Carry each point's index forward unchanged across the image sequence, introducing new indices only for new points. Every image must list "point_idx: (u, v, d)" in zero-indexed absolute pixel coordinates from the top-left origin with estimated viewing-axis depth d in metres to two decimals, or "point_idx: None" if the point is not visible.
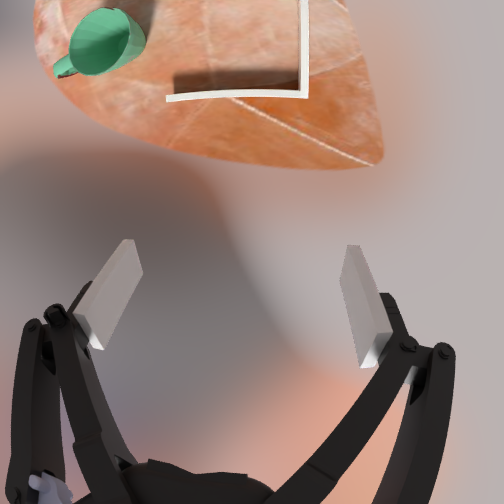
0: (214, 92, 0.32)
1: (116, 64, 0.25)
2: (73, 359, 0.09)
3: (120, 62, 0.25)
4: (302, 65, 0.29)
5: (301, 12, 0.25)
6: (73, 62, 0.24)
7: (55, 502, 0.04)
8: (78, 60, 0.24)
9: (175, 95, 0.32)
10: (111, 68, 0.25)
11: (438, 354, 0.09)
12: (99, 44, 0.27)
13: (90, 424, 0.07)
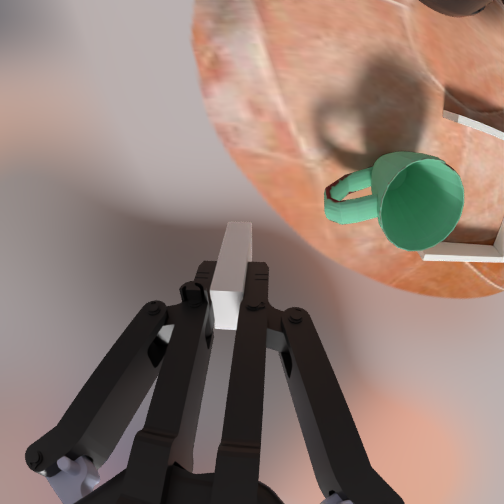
0: (459, 257, 0.32)
1: (432, 244, 0.25)
2: (190, 348, 0.10)
3: (432, 238, 0.25)
4: None
5: None
6: None
7: (73, 486, 0.05)
8: None
9: (432, 255, 0.32)
10: (425, 246, 0.25)
11: (289, 321, 0.11)
12: None
13: (169, 422, 0.07)
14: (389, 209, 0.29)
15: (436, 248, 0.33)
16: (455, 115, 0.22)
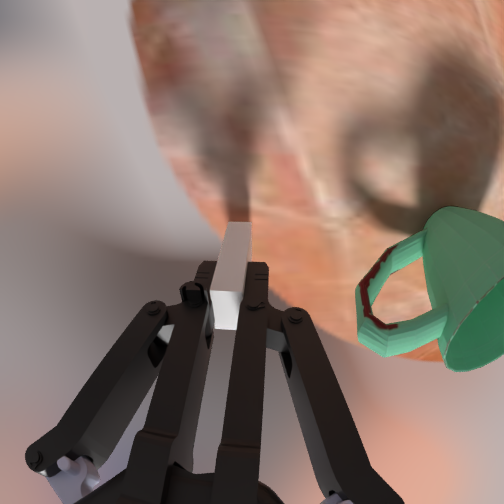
0: None
1: (496, 354, 0.13)
2: (190, 348, 0.10)
3: (496, 344, 0.13)
4: None
5: None
6: None
7: (73, 486, 0.05)
8: None
9: None
10: (487, 358, 0.13)
11: (289, 321, 0.11)
12: None
13: (169, 422, 0.07)
14: None
15: None
16: None
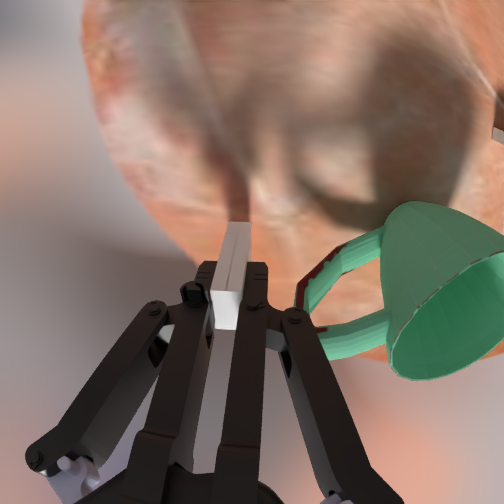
0: None
1: (465, 361, 0.13)
2: (191, 348, 0.10)
3: (465, 351, 0.13)
4: None
5: None
6: None
7: (73, 486, 0.05)
8: None
9: None
10: (454, 365, 0.13)
11: (288, 321, 0.11)
12: None
13: (169, 422, 0.07)
14: None
15: None
16: None
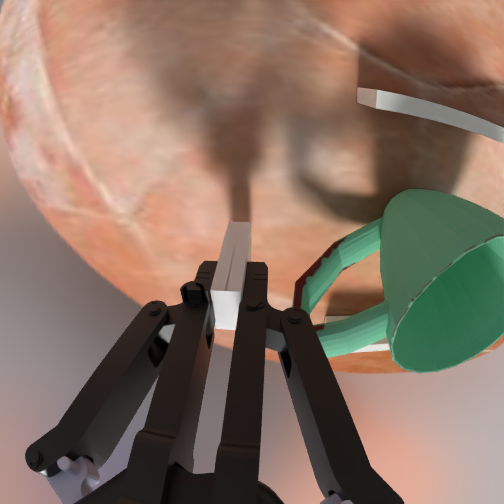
0: None
1: (474, 350, 0.12)
2: (191, 348, 0.10)
3: (474, 339, 0.13)
4: None
5: None
6: None
7: (73, 486, 0.05)
8: None
9: None
10: (463, 355, 0.13)
11: (288, 322, 0.11)
12: None
13: (169, 422, 0.07)
14: None
15: None
16: (372, 93, 0.11)
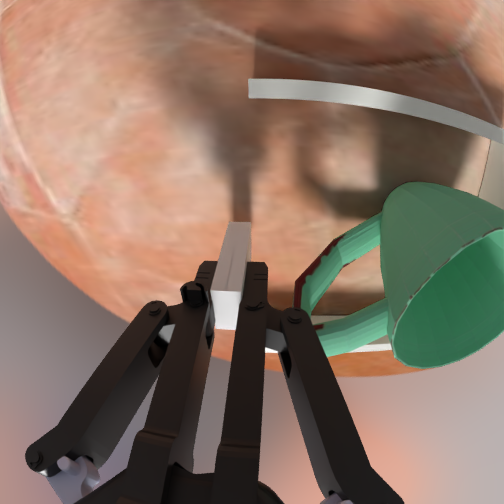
0: None
1: (478, 344, 0.12)
2: (191, 348, 0.10)
3: (478, 333, 0.13)
4: None
5: None
6: None
7: (73, 486, 0.05)
8: None
9: None
10: (467, 349, 0.13)
11: (288, 321, 0.11)
12: None
13: (169, 422, 0.07)
14: None
15: None
16: None
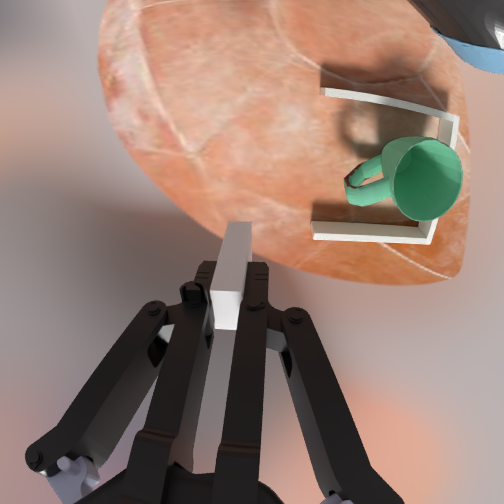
0: (361, 236, 0.37)
1: (441, 213, 0.27)
2: (190, 348, 0.10)
3: (440, 208, 0.28)
4: None
5: None
6: (394, 198, 0.27)
7: (73, 486, 0.05)
8: (391, 191, 0.28)
9: (323, 234, 0.37)
10: (436, 216, 0.28)
11: (289, 321, 0.11)
12: None
13: (169, 422, 0.07)
14: (400, 188, 0.32)
15: (333, 228, 0.38)
16: (324, 89, 0.27)
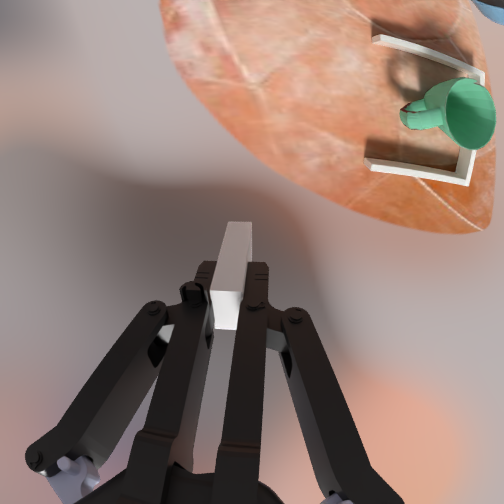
0: (412, 171, 0.35)
1: (482, 145, 0.25)
2: (190, 348, 0.10)
3: (481, 142, 0.25)
4: (471, 159, 0.32)
5: None
6: (446, 124, 0.25)
7: (73, 486, 0.05)
8: None
9: (380, 166, 0.35)
10: (478, 147, 0.25)
11: (289, 321, 0.11)
12: None
13: (169, 422, 0.07)
14: None
15: (386, 163, 0.36)
16: (378, 36, 0.25)
